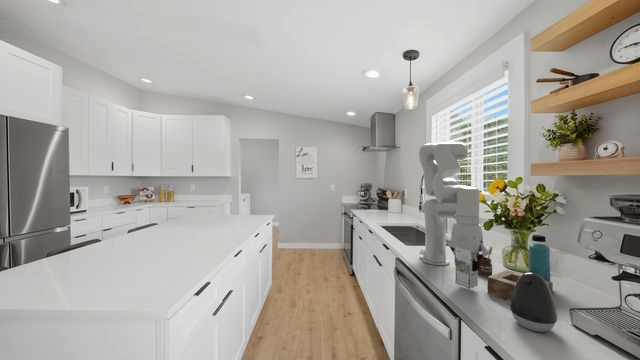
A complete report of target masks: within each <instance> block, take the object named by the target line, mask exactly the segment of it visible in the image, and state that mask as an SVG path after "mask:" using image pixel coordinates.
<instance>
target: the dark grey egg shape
mask: <svg viewBox="0 0 640 360" xmlns="http://www.w3.org/2000/svg"><path fill="white" fill-rule="evenodd" d="M521 274H522V275H521V276H520V278H519V279H518V281H517V282H516V285H515V287H514V290H513V293H512V297H511V301H509V303H510V304H509V308H510V309H509V310H510V311H511V315H512V317H513V319H514V320H515V321H516V322H517V323H518V324H519V325H520V326H521V327H523V328H525V329H527V330H530V331H533V332H537V333H546V332H549V331H550V330H552V329H553V328H554V327H555V324H556V323H557V321H558V314H557V313H558V312H557V308H556V304H555V301H554V297H552V294H551V291H550V289H549V287H548V285H547V283H546V282H545V280H544V279H543V278H542V277H541V276H540V275H538V274H536V273H533V272H528V271H527V272H524V273H521Z"/></svg>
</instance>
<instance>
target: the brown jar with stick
mask: <svg viewBox="0 0 640 360" xmlns="http://www.w3.org/2000/svg"><path fill="white" fill-rule="evenodd" d="M488 251H489V254H488V255H487V256H485V257H484V258H482V259H481V260H480V268H479V270H478V275H479V276H481V277H486V278H488V276H491V275H493V264H492V259H491V258H490V256H491V254H492V251H493V247H492V246H490V247H489V249H488ZM479 253H480V254H482V251H481V252H479Z"/></svg>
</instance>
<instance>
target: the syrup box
mask: <svg viewBox="0 0 640 360" xmlns="http://www.w3.org/2000/svg"><path fill="white" fill-rule="evenodd" d="M473 260H474V258H473V253H471V252H470V251H469V250H465V249H461V248H458V247H456V266H455V284H456V285H458V286H461V287H464V288H467V289H469V290H470V289H474V288H475V287H478V285H479V280H478V279H479V276H478V275H479V274H478V271H475V272H474V271H472V261H473Z"/></svg>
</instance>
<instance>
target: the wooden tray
mask: <svg viewBox="0 0 640 360" xmlns="http://www.w3.org/2000/svg"><path fill="white" fill-rule="evenodd" d="M522 274H523V273H519V272H515V271H512V270H503V271H501V272H498V273H495V274H492V275H491V276H488V277H487V294H488V295H492V296H493V297H497V298H500V299H503V300H505V301H509V302H511V297H512V293H513V290H514V287H515V285H516V282H517V281H518V279H519V278H520V276H521V275H522ZM545 282H546V283H547V285H548V287H549V289H550V291H551V294H552V297H553V292H554V291H553V287H554V285H553V284H554V282H552V281H550V282H549V281H546V280H545ZM553 298H554V297H553Z"/></svg>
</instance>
